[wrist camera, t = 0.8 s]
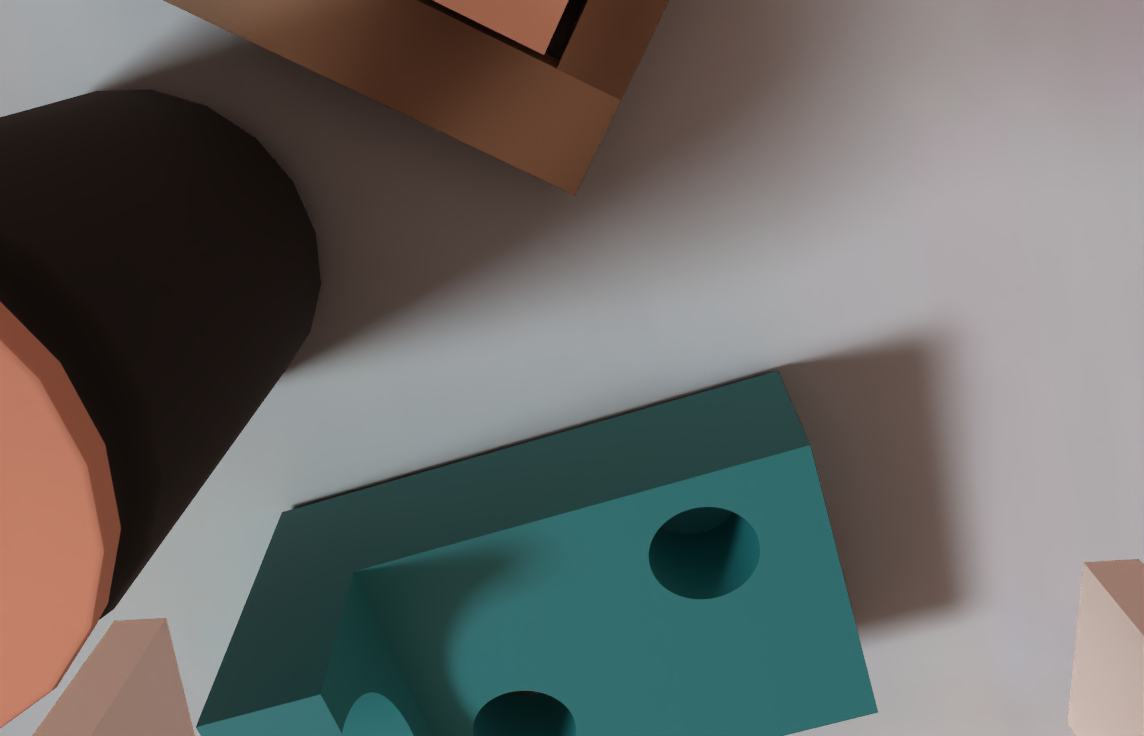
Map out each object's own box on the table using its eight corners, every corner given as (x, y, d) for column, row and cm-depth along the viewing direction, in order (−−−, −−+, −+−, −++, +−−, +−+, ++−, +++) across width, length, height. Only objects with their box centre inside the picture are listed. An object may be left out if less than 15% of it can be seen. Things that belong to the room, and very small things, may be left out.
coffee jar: (-37, 323, 37) (-564, 635, 20) (53, 23, 33) (-492, 90, 16) (263, 450, 38) (12, 839, 21) (379, 175, 35) (188, 381, 18)
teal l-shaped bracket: (394, 731, 43) (351, 979, 34) (281, 512, 39) (195, 727, 29) (841, 616, 41) (928, 845, 32) (777, 370, 37) (857, 552, 27)
